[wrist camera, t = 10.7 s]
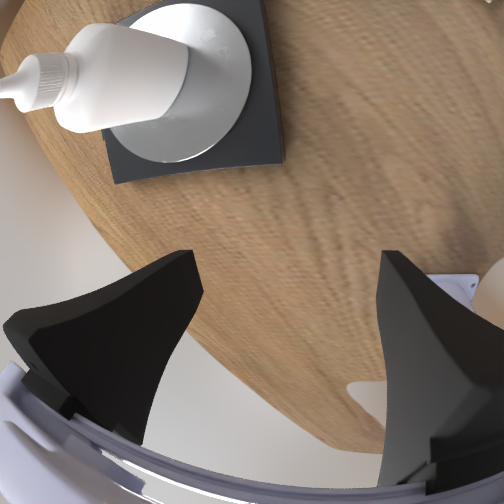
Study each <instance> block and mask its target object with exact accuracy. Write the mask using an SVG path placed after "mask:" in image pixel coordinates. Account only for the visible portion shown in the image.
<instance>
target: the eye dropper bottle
mask: <svg viewBox="0 0 504 504" xmlns="http://www.w3.org/2000/svg"><path fill="white" fill-rule="evenodd" d="M187 64H188V49H187V46H186V45H185V44H183V43H182V42H179V41H176V40H173V39H170V38H167V37H164V36H160V35H157V34H154V33H150V32H146V31H143V30H139V29H135V28H131V27H126V26H121V25H115V24H104V23H94V24H90V25H88V26H86V27H84V28H83V29H82V30H81V31H80V32H79V33H78V34H77V35H76V36H75V37H74V39H73V40H72V41H71V43H70V44H69V45H68V47H67V48H66V50H65V52H64V53H39V54H31V55H29V56H27V57H26V58H25V59H24V61H23V62H22V63H21V65H20V67H19V69H18V71H17V72H16V73H14V74H12V75H9V76H7V77H5V78H2V79H0V98H14V101H15V104H16V106H17V108H18V109H19V110H20V111H22V112H28V111H32V110H37V109H41V108H46V107H51V106H54V111H55V115H56V118H57V121H58V123H59V124H60V125H61V126H62V127H64V128H66V129H68V130H70V131H73V132H76V133H84V132H91V131H95V130H100V129H105V128H109V127H114V126H119V125H124V124H129V123H134V122H140V121H146V120H152V119H157V118H159V117H161V116H162V115H163V114H164V113H165V112H166V111H167V110H168V109H169V107H170V106H171V105H172V103H173V102H174V100H175V98H176V97H177V95H178V93H179V91H180V89H181V86H182V84H183V81H184V78H185V75H186V70H187Z"/></svg>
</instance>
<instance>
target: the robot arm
mask: <svg viewBox="0 0 504 504" xmlns="http://www.w3.org/2000/svg"><path fill="white" fill-rule="evenodd" d="M478 282H479V277H478V275H477V274H438V275H425V274H424V273H423V272H422V271H421V270H420V269H419V268H418V267H416V266H415V265H414V264H413V263H412V262H411V261H410V260H409V259H408V258H407V257H405V256H404V255H403V254H402V253H401V252H399V251H392V250H382V254H381V263H380V272H379V279H378V286H377V293H376V305H377V318H378V325H379V330H380V336H381V341H382V347H383V353H384V359H385V366H386V374H387V419H386V432H385V442H384V450H383V457H382V463H381V469H380V475H379V479H378V484H377V487H373V488H354V489H353V488H352V489H329V488H308V487H307V488H306V487H296V486H286V485H278V484H271V483H264V482H258V481H252V480H247V479H242V478H237V477H233V476H229V475H224V474H220V473H216V472H213V471H209V470H205V469H202V468H199V467H195V466H192V465H189V464H186V463H183V462H180V461H177V460H174V459H171V458H169V457H166V456H163V455H160V454H158V453H155V452H153V451H150V450H148V449H146V448H143V447H141V445H142V444H143V438H144V433H145V429H146V425H147V420H148V416H149V413H150V409H151V406H152V403H153V399H154V396H155V393H156V391H157V388H158V385H159V382H160V379H161V377H162V375H163V372H164V370H165V367H166V365H167V362H168V360H169V358H170V356H171V354H172V352H173V351H174V349H175V347H176V345H177V344H178V342H179V340H180V339H181V337H182V335H183V333H184V332H185V330H186V328H187V327H188V325H189V323H190V321H191V319H192V318H193V316H194V314H195V312H196V310H197V308H198V305H199V303H200V300H201V297H202V295H203V292H204V291H203V287H202V284H201V280H200V276H199V273H198V269H197V265H196V261H195V257H194V254H193V250H178V251H175V252H173V253H170V254H168V255H166V256H164V257H162V258H160V259H158V260H156V261H154V262H152V263H151V264H149V265H147V266H145V267H143V268H141V269H139V270H137V271H136V272H134V273H132V274H130V275H128V276H126V277H124V278H122V279H120V280H118V281H116V282H114V283H112V284H110V285H107V286H105V287H103V288H100V289H98V290H96V291H93V292H91V293H88V294H85V295H82V296H79V297H76V298H73V299H70V300H67V301H63V302H60V303H56V304H51V305H47V306H42V307H36V308H29V309H22V310H19V311H17V312H15V313H14V314H13V315H12V316H11V317H10V318H9V320H7V321H6V322H5V323H4V324H3V330H4V332H5V334H6V336H7V338H8V340H9V341H10V343H11V344H12V346H13V347H14V349H15V350H16V351H17V353H18V354H19V355H20V357H21V358H22V359H23V361H24V362H25V363H26V365H27V366H28V367H29V368H30V369H29V371H28V372H27V373H26V372H25V371H24V370H23V369H22V368H21V367H20V366H18V365H17V364H16V363H15V362H13V361H10V362H9V364H8V365H7V366H6V367H5V369H4V370H3V371H2V372H1V373H0V492H1V493H2V495H3V496H4V497H5V499H6V500H7V501H8V503H9V504H163V503H161V502H158V501H156V500H154V499H152V498H149V497H147V496H145V495H143V494H142V490H143V488H144V486H145V484H146V482H145V481H144V480H142V479H140V478H138V477H137V476H135V475H133V474H131V473H130V472H128V471H126V470H125V469H123V468H122V467H120V466H119V465H117V464H116V463H115V462H113V461H112V460H110V459H109V458H107V457H105V456H104V455H102V451H101V450H103V451H105V452H107V453H108V454H110V455H112V456H114V457H116V458H117V459H120V460H121V461H123V462H125V463H127V464H129V465H131V466H133V467H135V468H138V469H139V470H142V471H144V472H146V473H148V474H151V475H153V476H155V477H158V478H160V479H162V480H165V481H167V482H170V483H173V484H175V485H178V486H181V487H184V488H187V489H190V490H192V491H196V492H199V493H202V494H206V495H209V496H212V497H215V498H219V499H223V500H227V501H231V502H236V503H240V504H504V330H503V329H500V328H499V327H497V326H495V325H493V324H492V323H490V322H488V321H487V320H485V319H483V318H482V317H480V316H478V315H477V314H476V313H475V311H474V308H473V307H472V305H471V301H472V299H473V296H474V293H475V290H476V288H477V285H478ZM473 283H474V284H473ZM472 284H473V285H472ZM471 285H472V286H471Z"/></svg>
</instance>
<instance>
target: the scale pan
mask: <svg viewBox="0 0 504 504" xmlns="http://www.w3.org/2000/svg"><path fill="white" fill-rule="evenodd" d="M130 27H131V28H135V29H139V30H143V31H146V32H150V33H154V34H157V35H160V36H164V37H167V38H170V39H173V40H176V41H179V42H182V43H183V44H185V45H186V46H187V49H188V64H187V70H186V75H185V78H184V81H183V84H182V86H181V89H180V91H179V93H178V95H177V97H176V98H175V100H174V102H173V103H172V105H171V106H170V107H169V109H168V110H167V111H166V112H165V113H164V114H163V115H162V116H161V117H159V118H157V119H152V120H146V121H140V122H134V123H129V124H124V125H119V126H114V127H110V129H111V131H112V132H113V134H114V136H115V137H116V138H117V139H118V141H119V142H120V143H121V144H122V145H123V146H124V147H125V148H126V149H128V150H129V151H131V152H132V153H134V154H136V155H137V156H139V157H141V158H144V159H147V160H150V161H155V162H166V163H169V162H179V161H183V160H187V159H190V158H193V157H195V156H198V155H200V154H202V153H204V152H206V151H208V150H209V149H211V148H212V147H214V146H215V145H217V144H218V143H219V142H220V141H221V140H222V139H223V138H225V137H226V136H227V135H228V134H229V132H230V131H231V130H232V129H233V128H234V127H235V125H236V124H237V122H238V121H239V119H240V118H241V116H242V114H243V112H244V110H245V108H246V106H247V103H248V100H249V97H250V94H251V90H252V85H253V75H254V68H253V58H252V54H251V50H250V47H249V44H248V42H247V40H246V38H245V36H244V35H243V33H242V31H241V30H240V29H239V28H238V26H237V25H236V24H235V23H234V22H233V21H232V20H230V19H229V18H228V17H227V16H226V15H224V14H223V13H221V12H219V11H217V10H216V9H213V8H210V7H208V6H204V5H199V4H191V3H183V4H174V5H169V6H165V7H162V8H159V9H156V10H154V11H152V12H150V13H148V14H146V15H145V16H143V17H142V18H140V19H139V20H137V21H136V22H135V23H134V24H132V25H131V26H130Z"/></svg>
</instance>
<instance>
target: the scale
mask: <svg viewBox="0 0 504 504" xmlns="http://www.w3.org/2000/svg"><path fill="white" fill-rule="evenodd" d="M183 3H191V4H199V5H204V6H208V7H210V8H213V9H216V10H217V11H219V12H221V13H223V14H224V15H226V16H227V17H228V18H229V19H230V20H232V21H233V22H234V23H235V24H236V25H237V26H238V28H239V29H240V30H241V31H242V33H243V35H244V36H245V38H246V40H247V42H248V44H249V47H250V50H251V54H252V58H253V68H254V75H253V85H252V90H251V94H250V97H249V100H248V103H247V106H246V108H245V110H244V112H243V114H242V116H241V118H240V119H239V121H238V122H237V124H236V125H235V127H234V128H233V129H232V130H231V131H230V132H229V134H228V135H227V136H226V137H225V138H223V139H222V140H221V141H220V142H219V143H218V144H217V145H215V146H214V147H212V148H211V149H209V150H208V151H206V152H204V153H202V154H200V155H198V156H195V157H193V158H190V159H187V160H183V161H179V162H169V163H166V162H155V161H150V160H147V159H144V158H141V157H139V156H137V155H136V154H134V153H132V152H131V151H129V150H128V149H126V148H125V147H124V146H123V145H122V144H121V143H120V142H119V141H118V139H117V138H116V137H115V136H114V134H113V132H112V131H111V129H110V127H109V128H105V129H101V131H102V137H103V140H105V143H106V148H107V153H108V157H109V162H110V166H111V171H112V175H113V179H114V183H115V184H120V183H126V182H131V181H137V180H142V179H148V178H155V177H161V176H168V175H175V174H182V173H190V172H198V171H206V170H215V169H225V168H236V167H248V166H262V165H279V164H283V162H284V161H285V149H284V139H283V130H282V121H281V113H280V105H279V97H278V89H277V82H276V74H275V67H274V60H273V54H272V47H271V41H270V34H269V28H268V22H267V16H266V11H265V5H264V0H163V1H161V2H158V3H156V4H154V5H151V6H149V7H147V8H145V9H143V10H141V11H138V12H136V13H134V14H132V15H130V16H128V17H126V18H124V19H123V20H121V21H119V22H117V23H115V25H121V26H126V27H130V26H131V25H132V24H134V23H135V22H136V21H137V20H139V19H140V18H142V17H143V16H145V15H146V14H148V13H150V12H152V11H154V10H156V9H159V8H162V7H165V6H169V5H174V4H183Z"/></svg>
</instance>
